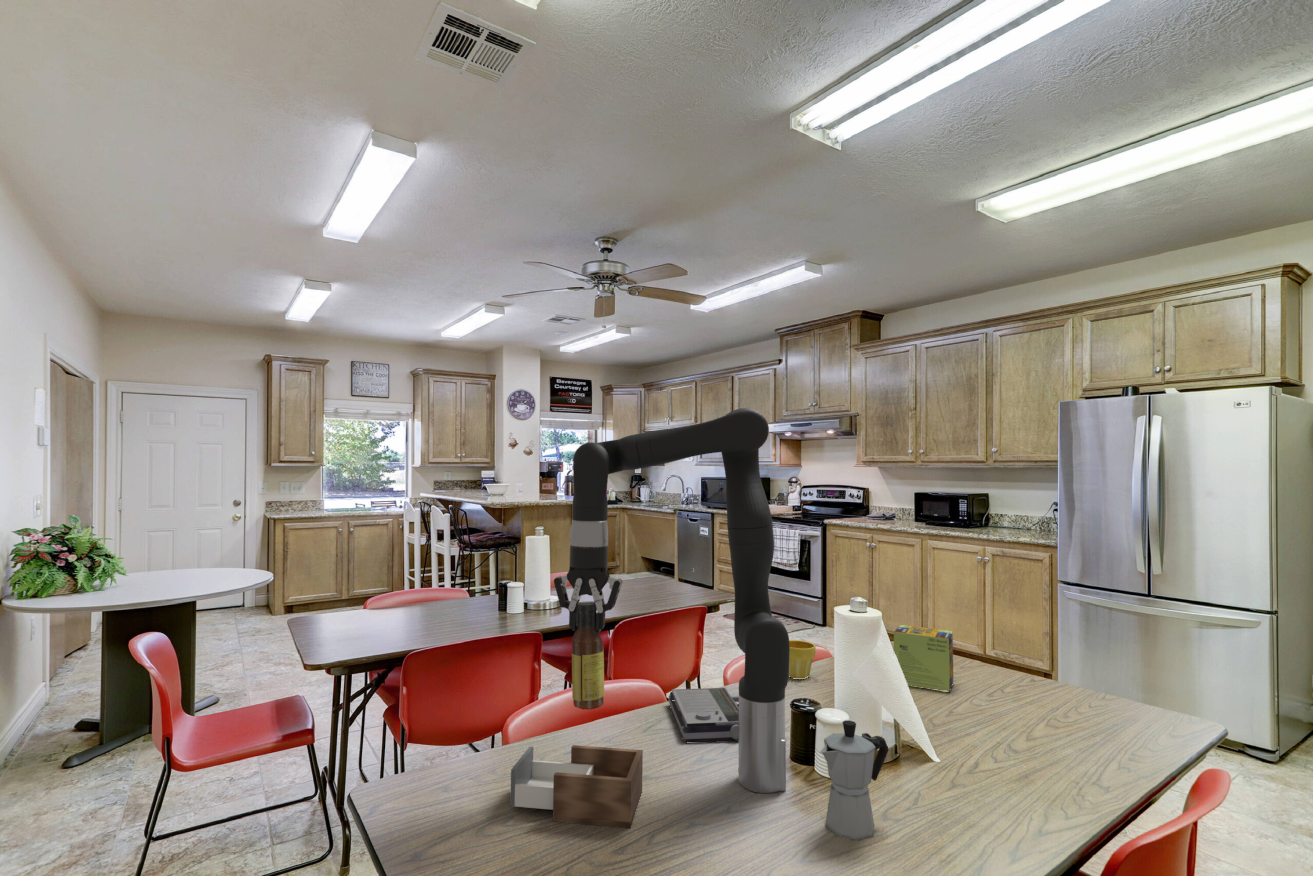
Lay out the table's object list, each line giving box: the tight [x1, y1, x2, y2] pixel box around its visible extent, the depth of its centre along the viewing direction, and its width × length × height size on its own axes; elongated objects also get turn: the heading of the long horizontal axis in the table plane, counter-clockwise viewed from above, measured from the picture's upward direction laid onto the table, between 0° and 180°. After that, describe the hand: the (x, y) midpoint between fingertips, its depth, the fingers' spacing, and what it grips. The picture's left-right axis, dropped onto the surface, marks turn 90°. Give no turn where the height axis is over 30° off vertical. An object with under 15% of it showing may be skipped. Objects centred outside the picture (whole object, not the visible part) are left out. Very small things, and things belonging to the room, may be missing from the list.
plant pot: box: [789, 639, 816, 679], centre depth 196 cm, size 10×10×10 cm
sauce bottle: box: [571, 600, 605, 710], centre depth 126 cm, size 6×6×20 cm
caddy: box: [552, 744, 644, 829], centre depth 119 cm, size 14×13×8 cm
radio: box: [668, 687, 739, 744], centre depth 160 cm, size 24×5×20 cm
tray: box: [509, 746, 594, 811], centre depth 120 cm, size 13×10×6 cm
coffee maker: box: [819, 719, 889, 841], centre depth 114 cm, size 15×9×18 cm, turn 114°
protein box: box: [893, 624, 955, 692], centre depth 190 cm, size 10×15×16 cm
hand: (586, 630), depth 127 cm, fingers closed on sauce bottle, 4 cm apart
